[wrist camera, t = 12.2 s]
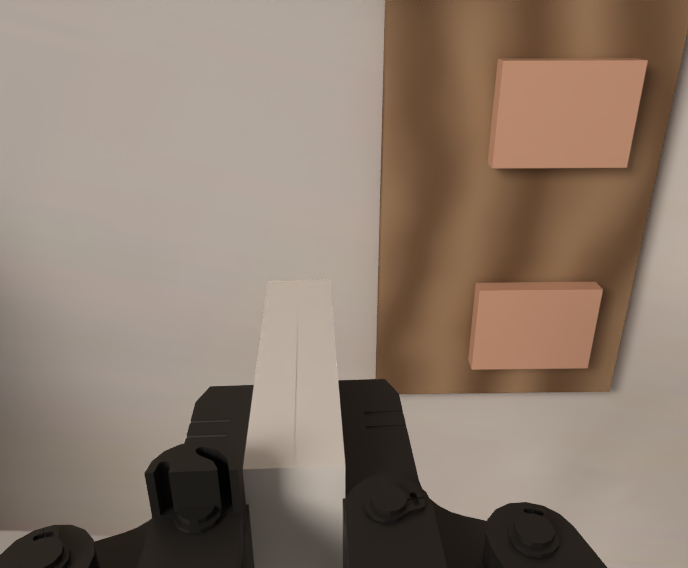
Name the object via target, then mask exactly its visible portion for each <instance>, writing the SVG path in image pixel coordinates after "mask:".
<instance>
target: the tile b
mask: <svg viewBox="0 0 688 568" xmlns="http://www.w3.org/2000/svg"><path fill="white" fill-rule="evenodd" d="M647 62H648V60H644V59H639V58H544V59H498V63H497V73H496V83H495V93H494V103H493V113H492V123H491V134H490V144H489V154H488V164H489V165H490V167H491V168H627V164H628V159H629V154H630V149H631V144H632V139H633V134H634V129H635V123H636V118H637V113H638V108H639V103H640V98H641V93H642V88H643V83H644V77H645V72H646V67H647Z"/></svg>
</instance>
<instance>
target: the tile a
mask: <svg viewBox="0 0 688 568" xmlns="http://www.w3.org/2000/svg"><path fill="white" fill-rule="evenodd" d="M602 292H603V289H602V288H601V287H600V286H599V285H598V284H597V282H510V283H476V285H475V295H474V306H473V316H472V326H471V336H470V346H469V356H468V361H469V364H470V367H471V369H472V370H480V369H569V368H588V364H589V359H590V353H591V348H592V343H593V338H594V333H595V328H596V323H597V318H598V313H599V307H600V302H601V297H602Z"/></svg>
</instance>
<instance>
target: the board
mask: <svg viewBox="0 0 688 568" xmlns="http://www.w3.org/2000/svg"><path fill="white" fill-rule="evenodd" d="M687 32H688V0H385V27H384V66H383V106H382V146H381V186H380V226H379V266H378V306H377V346H376V379H386V380H387V382H388V383H389V384H390V385H391V386H392V387H393V388H394V389H395V390H396V391H397V392H398V393H399V394H439V393H523V392H607V391H610V387H611V382H612V378H613V373H614V368H615V364H616V359H617V355H618V350H619V345H620V341H621V336H622V332H623V327H624V322H625V318H626V313H627V309H628V304H629V299H630V295H631V290H632V286H633V281H634V276H635V272H636V267H637V263H638V258H639V253H640V249H641V244H642V240H643V235H644V230H645V226H646V221H647V217H648V212H649V207H650V203H651V198H652V193H653V189H654V184H655V180H656V175H657V170H658V166H659V161H660V157H661V152H662V147H663V143H664V138H665V134H666V129H667V124H668V120H669V115H670V111H671V106H672V101H673V97H674V92H675V88H676V83H677V78H678V74H679V69H680V65H681V60H682V55H683V51H684V46H685V42H686V37H687ZM544 58H639V59H644V60H648V62H647V67H646V72H645V77H644V83H643V88H642V93H641V98H640V103H639V108H638V113H637V118H636V123H635V129H634V134H633V139H632V144H631V149H630V154H629V159H628V164H627V168H491V167H490V165H489V164H488V154H489V144H490V134H491V123H492V113H493V103H494V93H495V83H496V73H497V63H498V59H544ZM510 282H597V284H598V285H599V286H600V287H601V288H602V289H603V292H602V297H601V302H600V307H599V313H598V318H597V323H596V328H595V333H594V338H593V343H592V348H591V353H590V359H589V364H588V368H569V369H480V370H472V369H471V367H470V364H469V361H468V356H469V346H470V336H471V326H472V316H473V306H474V295H475V285H476V283H510Z"/></svg>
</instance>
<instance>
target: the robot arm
mask: <svg viewBox="0 0 688 568" xmlns="http://www.w3.org/2000/svg"><path fill="white" fill-rule="evenodd" d="M145 479H146V484H147V490H148V495H149V501H150V507H151V512H152V519H151V520H149V521H148V522H146V523H144V524H143V525H141V526H139V527H138V528H135V529H133V530H130V531H127V532H125V533H122V534H119V535H115V536H112V537H109V538H105V539H102V540H99V541H95V542H94V540H93V539H92V537H91V536H90V535H89V534H88V533H87V531H86V530H84V529H81V528H79V527H76V526H73V525H52V526H49V527H45V528H42V529H38V530H35V531H33V532H31V533H29V534H27V535H25V536H24V537H22V538H20V539H18V540H16V541H15V542H14V543H13V544H12V545H11V546H9V547H8V548H7V549H6V550H5V551H4V552H3V553H2V554H1V555H0V568H607V567H606V565H605V564H604V563H603V562H602V561H601V559H600V558H599V557H598V556H597V554H596V553H595V552H594V551H593V550H592V548H591V547H590V546H589V545H588V543H587V542H586V541H585V540H584V539H583V537H582V536H581V535H580V534H579V532H578V531H577V530H576V529H575V528H574V526H573V525H572V524H570V523H569V522H568V521H567V520H566V519H565V518H564V517H563V516H561V515H560V514H559V513H557V512H555V511H553V510H551V509H549V508H547V507H545V506H541V505H537V504H532V503H527V502H522V503H509V504H507V505H505V506H502V507H500V508H498V509H496V510H495V511H494V512H493V513H492V515H491V516H490V517H489V518H488V520H487V521H484V520H480V519H475V518H471V517H466V516H462V515H459V514H456V513H452V512H450V511H448V510H446V509H444V508H442V507H440V506H438V505H437V504H436V503H435V502H433V501H432V500H431V499H430V498H429V497H428V495H427V493H426V492H425V491H424V490H423V489H422V487H421V485H420V482H419V479H418V475H417V471H416V466H415V462H414V458H413V453H412V449H411V445H410V440H409V436H408V432H407V428H406V423H405V419H404V414H403V410H402V406H401V401H400V397H399V393H398V392H397V391H396V390H395V389H394V388H393V387H392V386H391V385H390V384H389V383H388V382H387V380H386V379H369V380H339V381H338V371H337V359H336V347H335V335H334V323H333V311H332V299H331V287H330V279H321V280H282V281H268V283H267V290H266V298H265V305H264V313H263V320H262V328H261V335H260V343H259V350H258V358H257V365H256V373H255V381H254V385H242V386H212V387H209V388H208V390H207V391H206V392H205V393H204V394H203V395H202V396H201V397H200V398H199V399H198V400H197V401H196V403H195V407H194V410H193V414H192V418H191V424H190V425H189V429H188V433H187V438H186V440H185V444H180V445H178V446H176V447H173V448H171V449H169V450H166V451H164V452H163V453H162V454H161V455H159V456H158V457H157V458H155V459H154V460H153V461H152V462H151V464H150V465H149V467H148V469H147V470H146V472H145Z"/></svg>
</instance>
